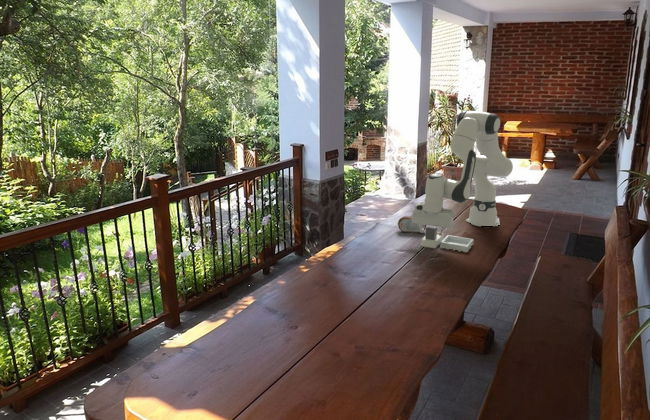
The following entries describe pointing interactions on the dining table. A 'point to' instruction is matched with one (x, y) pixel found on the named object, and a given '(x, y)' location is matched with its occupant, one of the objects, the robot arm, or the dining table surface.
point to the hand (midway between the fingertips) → (431, 233)
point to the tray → (456, 243)
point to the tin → (409, 225)
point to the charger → (431, 233)
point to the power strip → (432, 241)
